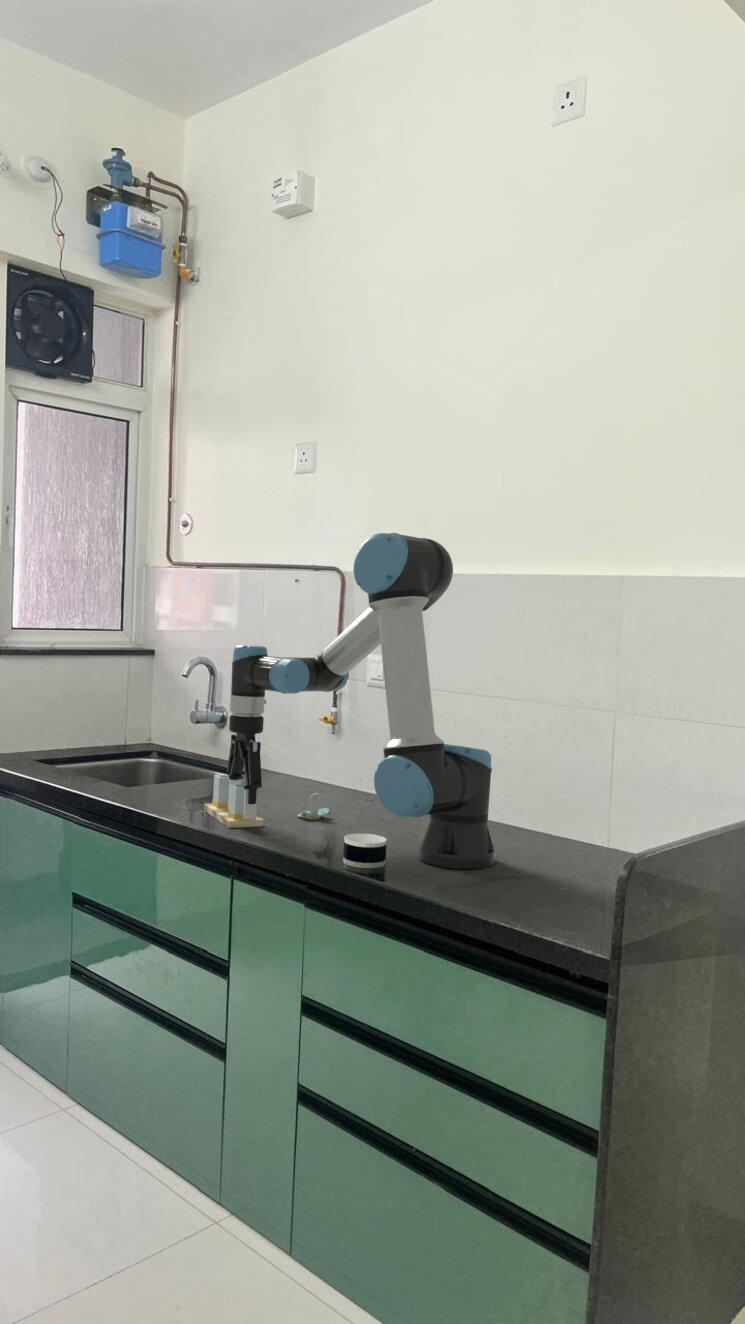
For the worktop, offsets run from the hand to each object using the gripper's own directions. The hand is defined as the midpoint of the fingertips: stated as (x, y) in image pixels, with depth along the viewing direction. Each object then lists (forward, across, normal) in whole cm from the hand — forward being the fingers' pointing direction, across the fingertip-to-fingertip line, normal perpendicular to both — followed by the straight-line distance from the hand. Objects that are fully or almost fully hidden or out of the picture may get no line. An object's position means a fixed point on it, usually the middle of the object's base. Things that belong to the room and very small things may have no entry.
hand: (241, 813), depth 225 cm
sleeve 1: (+1, +13, 0) cm, 13 cm away
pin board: (+2, +6, 0) cm, 7 cm away
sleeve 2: (+1, 0, 0) cm, 1 cm away
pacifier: (+3, +4, -18) cm, 19 cm away
